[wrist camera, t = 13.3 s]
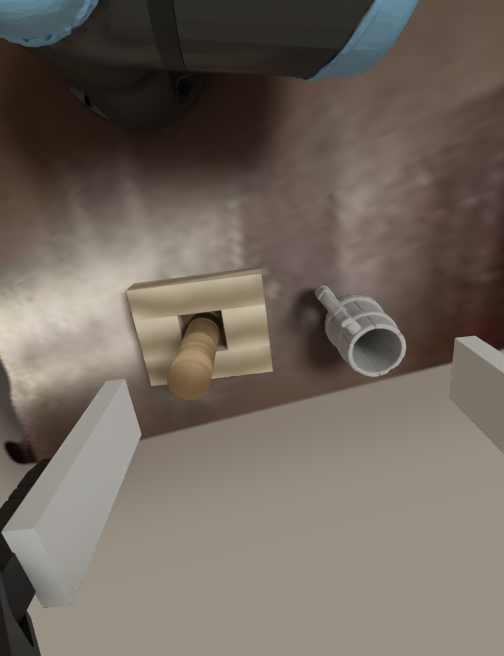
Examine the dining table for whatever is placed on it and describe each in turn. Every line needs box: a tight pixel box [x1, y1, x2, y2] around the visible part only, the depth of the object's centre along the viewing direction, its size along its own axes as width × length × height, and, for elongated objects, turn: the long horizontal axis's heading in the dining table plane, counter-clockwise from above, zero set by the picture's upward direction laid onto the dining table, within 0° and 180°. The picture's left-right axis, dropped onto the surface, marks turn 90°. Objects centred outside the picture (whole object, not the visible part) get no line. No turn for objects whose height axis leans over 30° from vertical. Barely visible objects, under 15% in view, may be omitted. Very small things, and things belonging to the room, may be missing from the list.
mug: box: [315, 285, 406, 377], centre depth 41 cm, size 8×12×12 cm, turn 46°
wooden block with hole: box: [126, 267, 273, 386], centre depth 45 cm, size 13×16×4 cm
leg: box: [167, 312, 220, 400], centre depth 39 cm, size 4×4×14 cm
